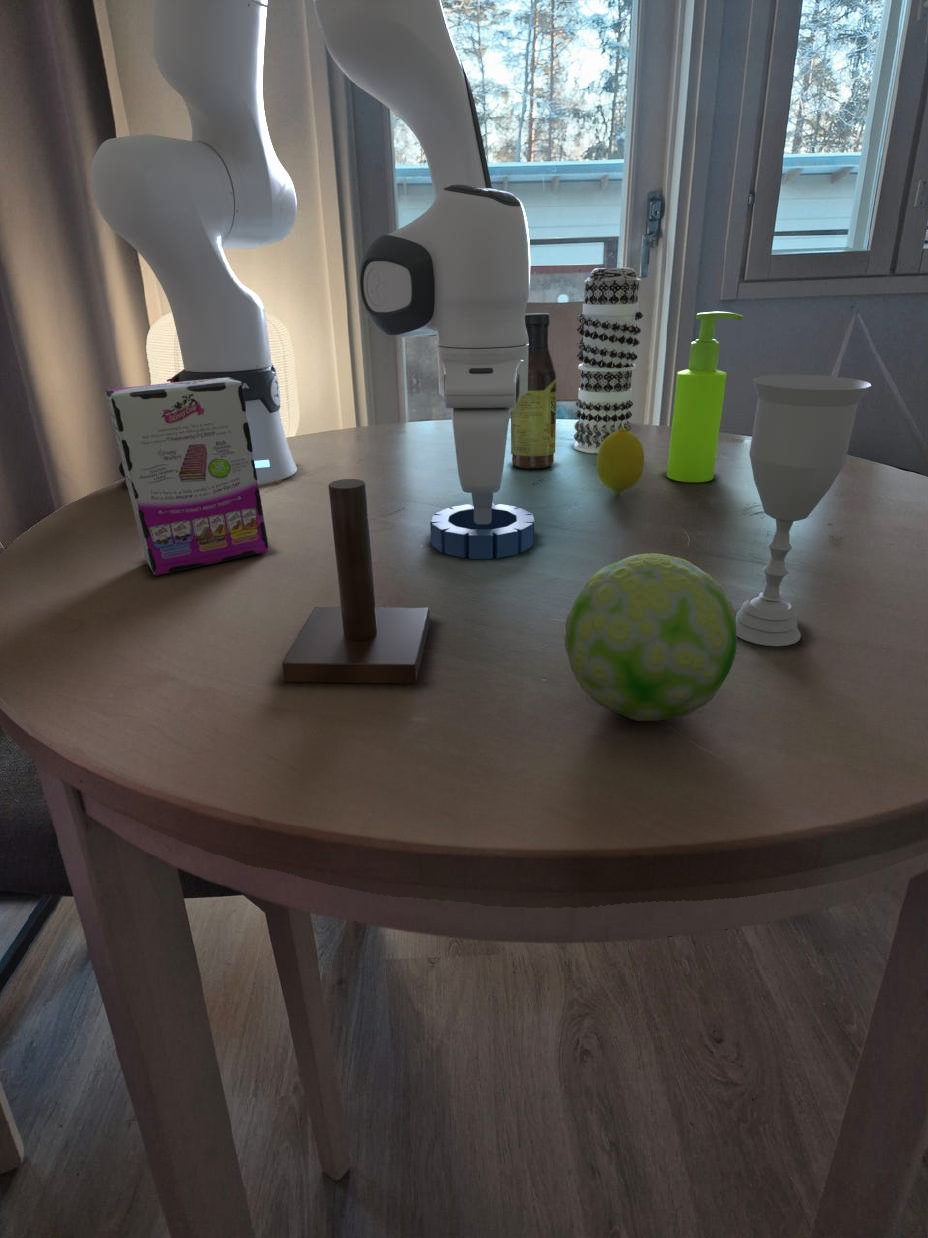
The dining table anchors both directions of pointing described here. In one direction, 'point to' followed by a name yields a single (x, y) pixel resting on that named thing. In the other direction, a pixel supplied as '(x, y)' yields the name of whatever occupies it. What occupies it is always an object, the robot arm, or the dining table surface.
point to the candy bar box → (189, 471)
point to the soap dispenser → (698, 407)
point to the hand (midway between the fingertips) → (484, 511)
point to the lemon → (620, 460)
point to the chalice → (793, 477)
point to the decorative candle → (606, 355)
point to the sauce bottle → (536, 402)
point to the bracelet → (482, 532)
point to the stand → (356, 613)
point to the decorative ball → (651, 637)
